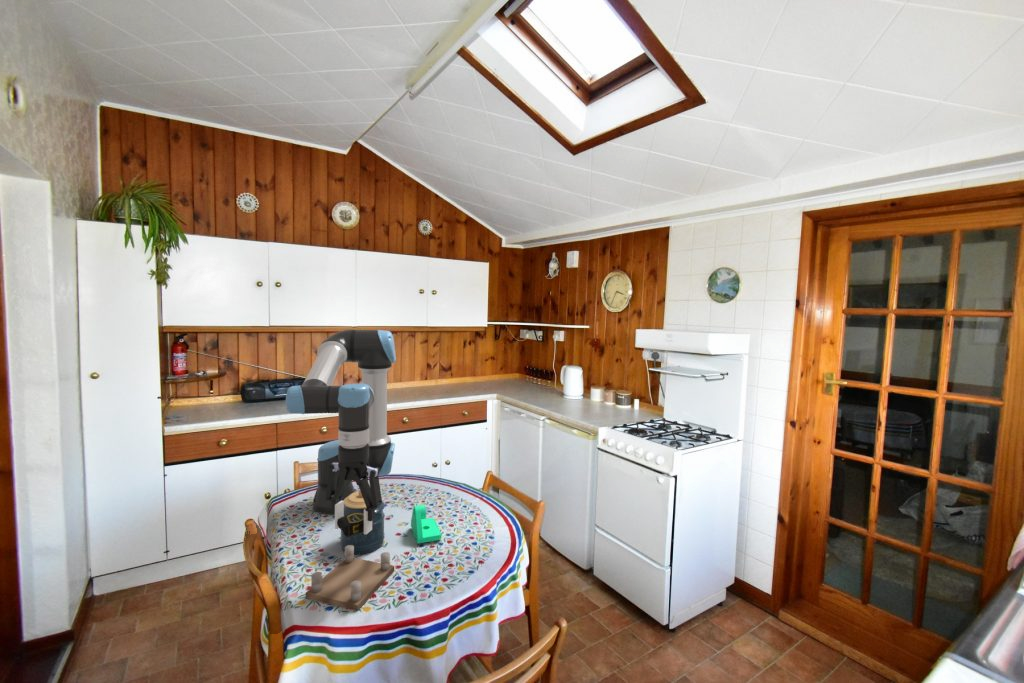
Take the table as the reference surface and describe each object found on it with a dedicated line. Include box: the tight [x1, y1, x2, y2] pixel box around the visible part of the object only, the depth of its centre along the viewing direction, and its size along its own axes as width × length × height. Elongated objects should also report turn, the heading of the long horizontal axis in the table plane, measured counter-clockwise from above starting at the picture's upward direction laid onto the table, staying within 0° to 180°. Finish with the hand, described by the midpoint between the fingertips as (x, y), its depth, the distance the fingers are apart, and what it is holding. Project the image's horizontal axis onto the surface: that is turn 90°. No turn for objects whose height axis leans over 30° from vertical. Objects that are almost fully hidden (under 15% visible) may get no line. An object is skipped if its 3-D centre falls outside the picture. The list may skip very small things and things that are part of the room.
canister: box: [339, 489, 386, 555], centre depth 136 cm, size 13×13×18 cm
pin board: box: [305, 545, 395, 612], centre depth 117 cm, size 15×17×6 cm
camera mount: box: [410, 503, 442, 544], centre depth 143 cm, size 12×8×10 cm, turn 23°
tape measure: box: [337, 513, 364, 537], centre depth 115 cm, size 7×7×4 cm
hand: (353, 529), depth 116 cm, fingers closed on tape measure, 8 cm apart
